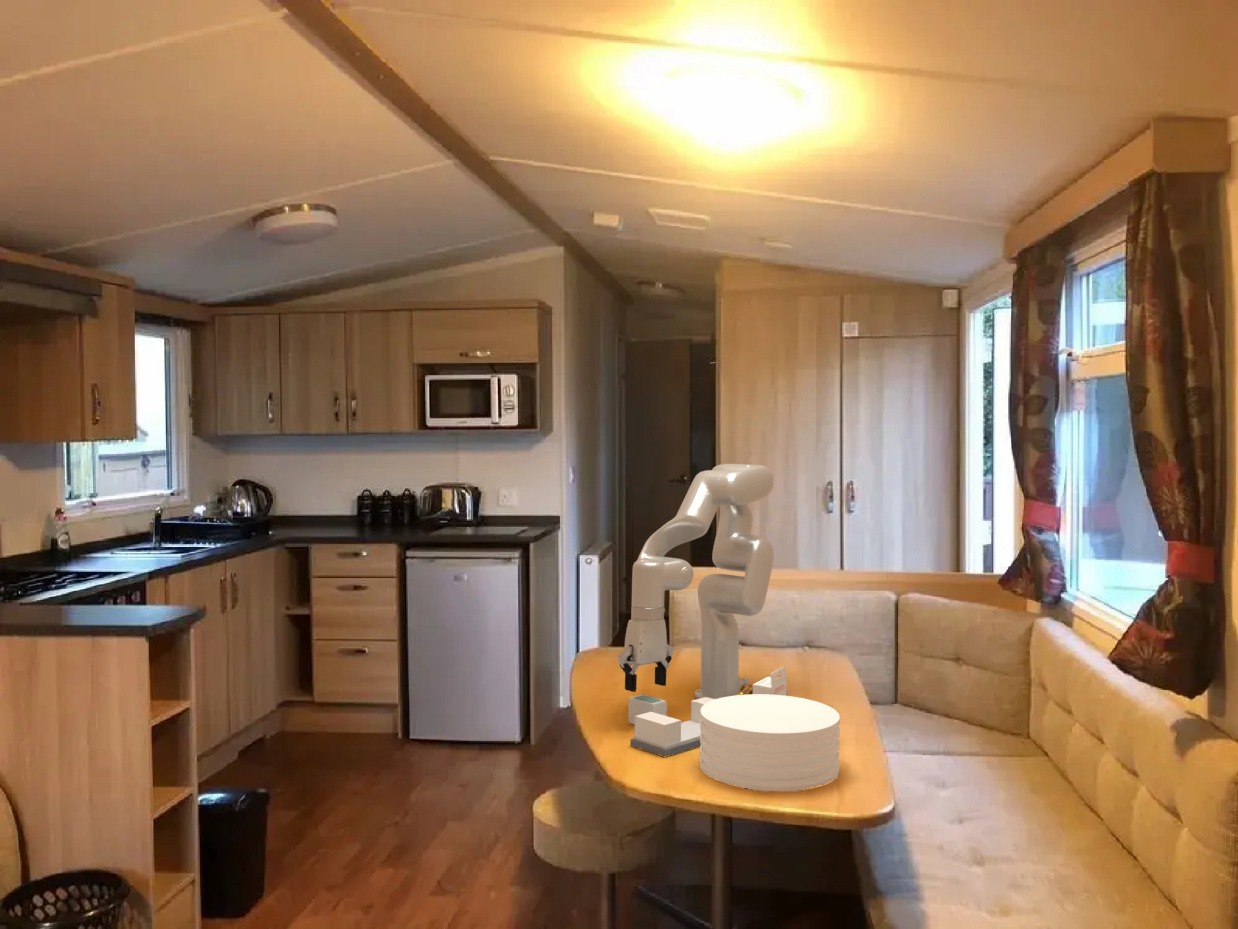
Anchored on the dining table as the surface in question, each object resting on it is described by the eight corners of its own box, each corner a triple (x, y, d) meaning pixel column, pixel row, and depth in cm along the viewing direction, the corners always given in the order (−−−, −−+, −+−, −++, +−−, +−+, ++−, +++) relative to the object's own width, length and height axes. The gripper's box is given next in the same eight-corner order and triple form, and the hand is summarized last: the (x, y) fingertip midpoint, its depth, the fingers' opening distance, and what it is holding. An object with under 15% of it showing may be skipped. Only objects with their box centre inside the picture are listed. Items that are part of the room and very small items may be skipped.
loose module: (642, 719, 241) (642, 693, 241) (666, 726, 236) (666, 700, 235) (628, 723, 238) (628, 697, 238) (652, 730, 232) (653, 703, 232)
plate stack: (722, 740, 226) (723, 688, 226) (850, 756, 215) (851, 702, 215) (681, 780, 200) (681, 722, 200) (823, 801, 190) (824, 740, 189)
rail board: (704, 724, 237) (704, 696, 237) (739, 734, 230) (739, 705, 230) (630, 746, 221) (630, 715, 221) (665, 757, 213) (665, 726, 213)
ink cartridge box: (766, 726, 236) (767, 663, 236) (786, 729, 234) (787, 665, 233) (751, 735, 229) (751, 670, 228) (771, 739, 226) (772, 673, 226)
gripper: (661, 608, 244) (660, 680, 245) (609, 615, 233) (607, 690, 233) (685, 612, 239) (683, 685, 239) (632, 619, 227) (630, 696, 227)
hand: (645, 687), depth 236 cm, fingers open, 9 cm apart
